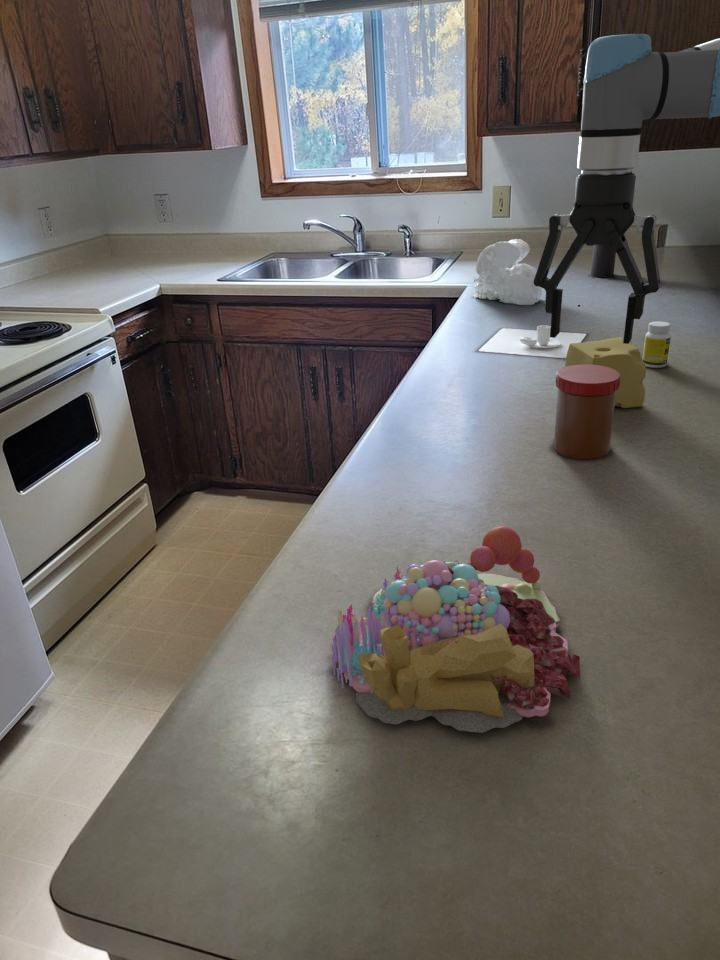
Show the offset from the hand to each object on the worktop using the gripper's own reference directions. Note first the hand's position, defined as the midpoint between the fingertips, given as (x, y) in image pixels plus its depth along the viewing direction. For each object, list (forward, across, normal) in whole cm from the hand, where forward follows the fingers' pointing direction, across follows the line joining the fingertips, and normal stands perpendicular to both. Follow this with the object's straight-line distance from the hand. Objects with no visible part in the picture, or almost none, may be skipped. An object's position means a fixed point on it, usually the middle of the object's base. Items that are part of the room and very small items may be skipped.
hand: (590, 338), depth 107 cm
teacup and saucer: (+18, +22, -55) cm, 62 cm away
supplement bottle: (+18, -5, -46) cm, 50 cm away
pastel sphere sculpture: (+18, +2, +53) cm, 56 cm away
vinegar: (+17, +21, -133) cm, 136 cm away
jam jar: (+18, 0, 0) cm, 18 cm away
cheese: (+18, +1, -22) cm, 28 cm away
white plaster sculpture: (+18, +40, -95) cm, 105 cm away
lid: (+6, 0, 0) cm, 6 cm away
